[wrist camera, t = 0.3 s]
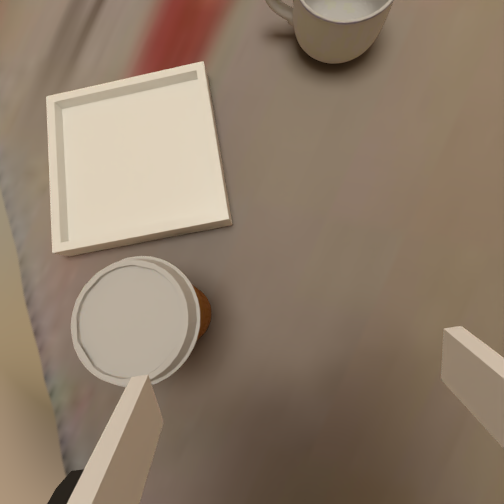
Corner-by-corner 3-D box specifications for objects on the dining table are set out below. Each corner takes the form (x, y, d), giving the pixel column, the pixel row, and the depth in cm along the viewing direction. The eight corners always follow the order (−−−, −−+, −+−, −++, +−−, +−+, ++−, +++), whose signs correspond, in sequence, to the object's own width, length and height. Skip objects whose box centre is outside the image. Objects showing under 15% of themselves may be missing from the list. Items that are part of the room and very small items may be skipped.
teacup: (388, 16, 36) (419, -63, 28) (361, 89, 35) (385, 27, 27) (284, -8, 38) (286, -88, 30) (254, 60, 37) (248, -6, 29)
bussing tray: (232, 225, 33) (229, 218, 31) (68, 256, 34) (52, 252, 32) (208, 77, 37) (203, 61, 34) (61, 109, 38) (46, 96, 36)
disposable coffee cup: (138, 278, 33) (62, 264, 21) (219, 265, 32) (187, 243, 21) (145, 365, 31) (66, 402, 19) (231, 352, 31) (203, 382, 19)
